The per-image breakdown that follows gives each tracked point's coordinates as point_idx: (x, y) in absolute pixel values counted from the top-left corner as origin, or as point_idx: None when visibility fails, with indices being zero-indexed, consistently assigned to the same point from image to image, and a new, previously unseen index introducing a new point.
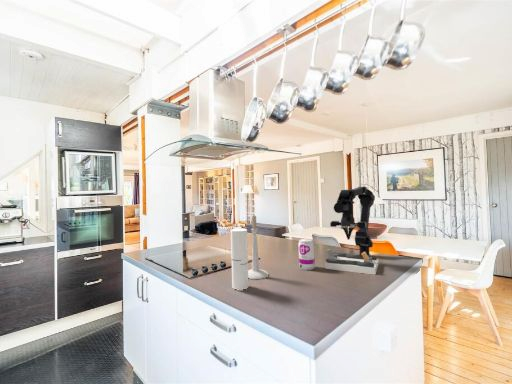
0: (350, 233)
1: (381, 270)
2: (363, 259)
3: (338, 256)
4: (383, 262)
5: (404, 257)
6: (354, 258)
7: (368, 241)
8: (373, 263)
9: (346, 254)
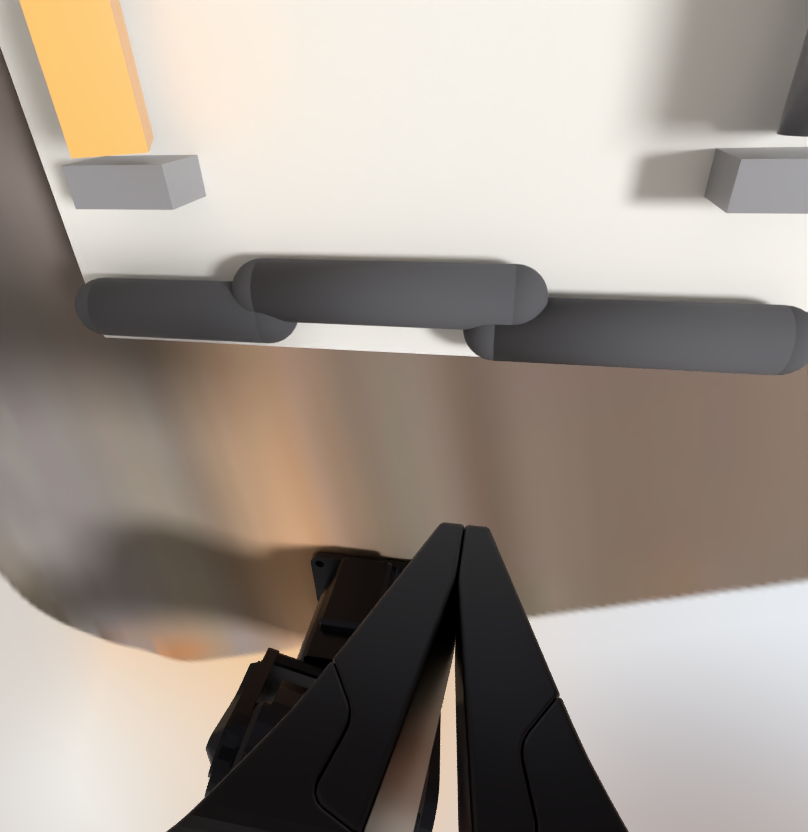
0: (318, 687)
1: None
2: None
3: None
4: (148, 429)
5: (83, 613)
6: None
7: (232, 717)
8: None
9: (529, 296)
